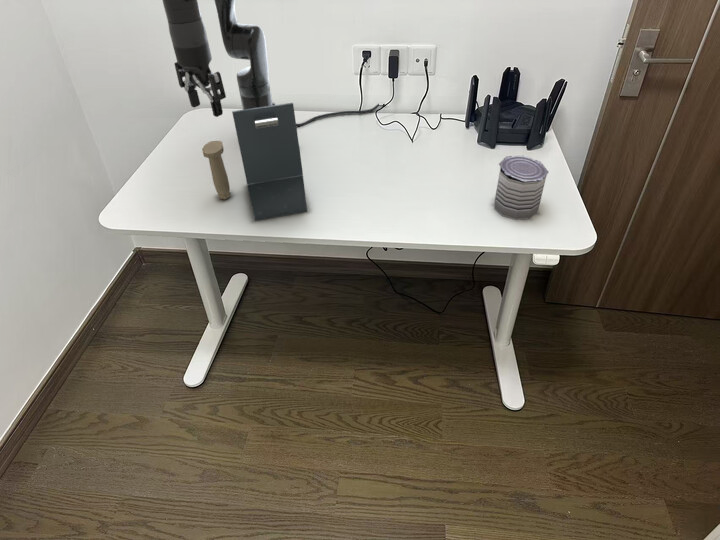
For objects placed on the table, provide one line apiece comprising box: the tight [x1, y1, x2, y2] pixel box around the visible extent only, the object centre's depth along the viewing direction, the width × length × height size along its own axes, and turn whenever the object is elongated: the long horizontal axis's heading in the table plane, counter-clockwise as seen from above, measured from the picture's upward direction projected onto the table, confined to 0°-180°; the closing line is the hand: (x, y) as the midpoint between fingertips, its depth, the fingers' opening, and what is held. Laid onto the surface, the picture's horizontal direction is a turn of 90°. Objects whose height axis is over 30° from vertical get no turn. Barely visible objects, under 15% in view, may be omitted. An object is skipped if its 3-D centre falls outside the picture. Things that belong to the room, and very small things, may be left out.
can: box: [493, 155, 550, 221], centre depth 130 cm, size 11×11×12 cm
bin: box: [246, 174, 308, 222], centre depth 137 cm, size 17×14×11 cm
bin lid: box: [231, 102, 304, 185], centre depth 120 cm, size 18×14×5 cm
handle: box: [201, 140, 231, 200], centre depth 137 cm, size 5×6×15 cm
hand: (207, 110), depth 125 cm, fingers open, 8 cm apart
